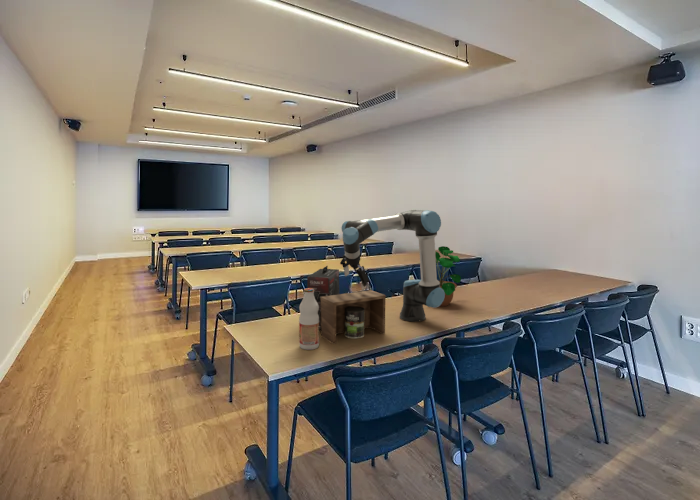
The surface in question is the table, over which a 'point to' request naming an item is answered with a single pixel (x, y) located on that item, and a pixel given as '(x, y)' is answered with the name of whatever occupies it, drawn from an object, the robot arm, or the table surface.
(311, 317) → the fruit juice
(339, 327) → the cubby
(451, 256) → the potted plant
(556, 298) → the table surface
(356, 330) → the coffee can
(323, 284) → the headset box
